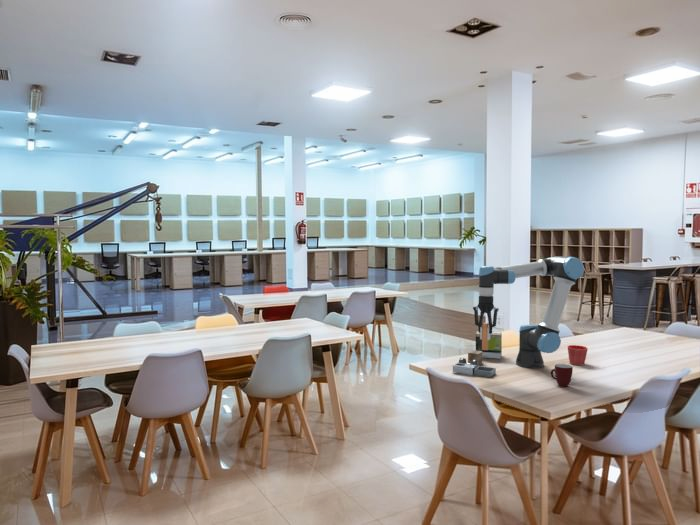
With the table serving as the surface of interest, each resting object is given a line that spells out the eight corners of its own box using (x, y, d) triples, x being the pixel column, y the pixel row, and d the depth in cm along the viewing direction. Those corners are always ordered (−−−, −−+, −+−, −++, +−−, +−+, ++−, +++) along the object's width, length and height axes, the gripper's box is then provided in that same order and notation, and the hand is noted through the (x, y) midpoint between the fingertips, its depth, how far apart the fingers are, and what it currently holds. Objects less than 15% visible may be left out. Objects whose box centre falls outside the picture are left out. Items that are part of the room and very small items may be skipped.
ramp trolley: (479, 370, 286) (480, 359, 285) (472, 375, 274) (472, 364, 274) (460, 367, 291) (460, 356, 291) (452, 372, 280) (452, 361, 280)
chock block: (482, 363, 302) (482, 351, 301) (478, 366, 295) (478, 353, 294) (472, 361, 305) (472, 350, 304) (467, 364, 298) (468, 352, 297)
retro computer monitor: (501, 355, 320) (502, 331, 319) (500, 359, 311) (501, 334, 310) (476, 353, 325) (477, 330, 324) (475, 357, 315) (475, 333, 315)
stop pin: (488, 349, 276) (489, 323, 276) (487, 350, 274) (487, 324, 273) (482, 348, 278) (483, 322, 277) (481, 349, 275) (481, 323, 275)
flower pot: (587, 362, 303) (587, 345, 303) (587, 366, 293) (587, 349, 293) (567, 360, 308) (567, 344, 307) (566, 364, 298) (567, 348, 297)
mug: (546, 385, 257) (547, 365, 256) (553, 381, 263) (553, 362, 262) (568, 389, 250) (569, 368, 249) (574, 385, 256) (575, 365, 255)
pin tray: (495, 373, 278) (495, 368, 278) (491, 377, 270) (491, 371, 270) (479, 371, 283) (479, 365, 283) (474, 375, 275) (474, 369, 275)
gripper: (503, 295, 273) (502, 339, 275) (473, 293, 282) (472, 336, 283) (499, 297, 267) (498, 342, 268) (468, 295, 275) (468, 338, 276)
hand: (485, 339), depth 276 cm, fingers closed on stop pin, 3 cm apart
